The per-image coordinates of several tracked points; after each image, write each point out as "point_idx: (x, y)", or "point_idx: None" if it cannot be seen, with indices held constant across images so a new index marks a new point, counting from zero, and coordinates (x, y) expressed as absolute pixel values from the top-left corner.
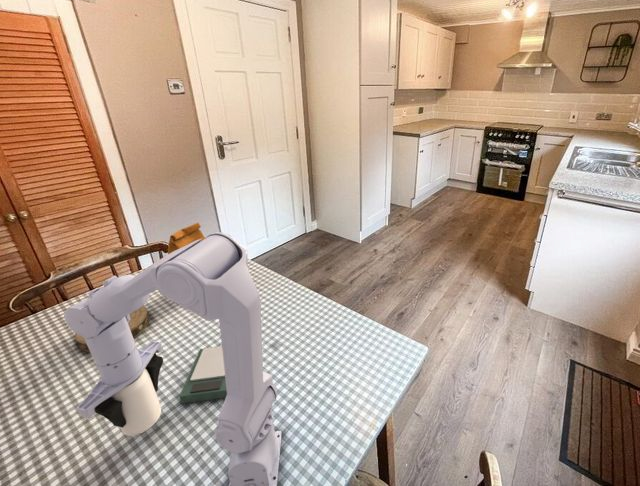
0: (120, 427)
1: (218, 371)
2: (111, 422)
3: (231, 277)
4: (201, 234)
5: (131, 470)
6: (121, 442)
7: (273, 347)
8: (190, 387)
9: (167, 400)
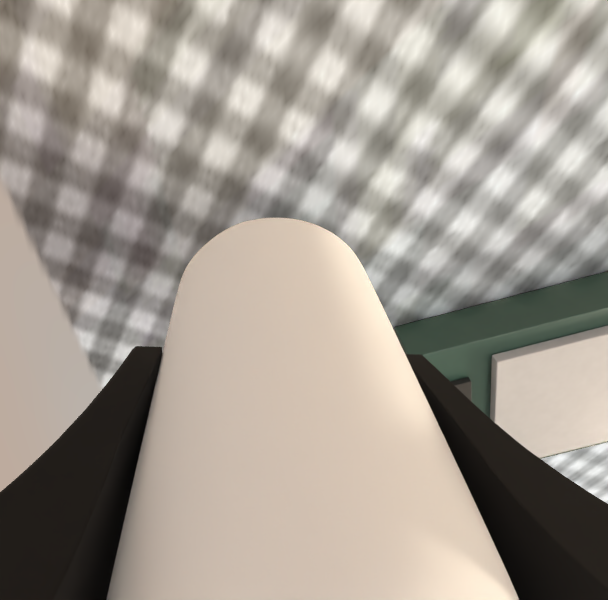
0: (174, 306)
1: (520, 437)
2: (121, 366)
3: None
4: None
5: (107, 326)
6: (190, 194)
7: (604, 473)
8: (456, 371)
9: (416, 256)
